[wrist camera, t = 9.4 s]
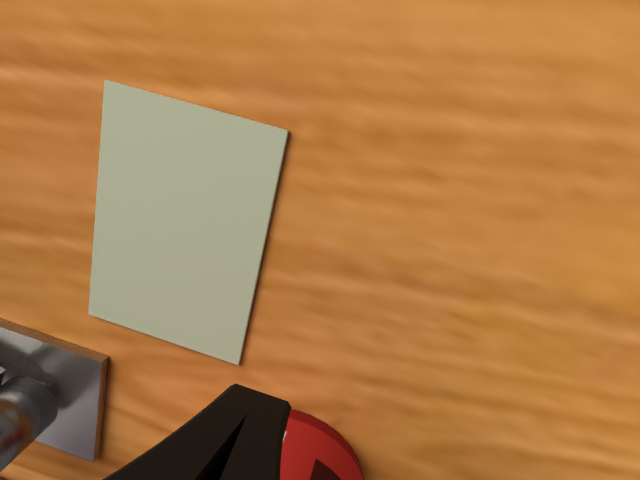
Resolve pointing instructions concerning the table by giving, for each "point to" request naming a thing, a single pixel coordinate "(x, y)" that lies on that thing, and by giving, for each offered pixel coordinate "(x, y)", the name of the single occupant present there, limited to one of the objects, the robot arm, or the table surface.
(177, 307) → the plate
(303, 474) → the canned food
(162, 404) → the table surface
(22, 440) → the grey copper-tipped rod
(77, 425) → the pivot plate
